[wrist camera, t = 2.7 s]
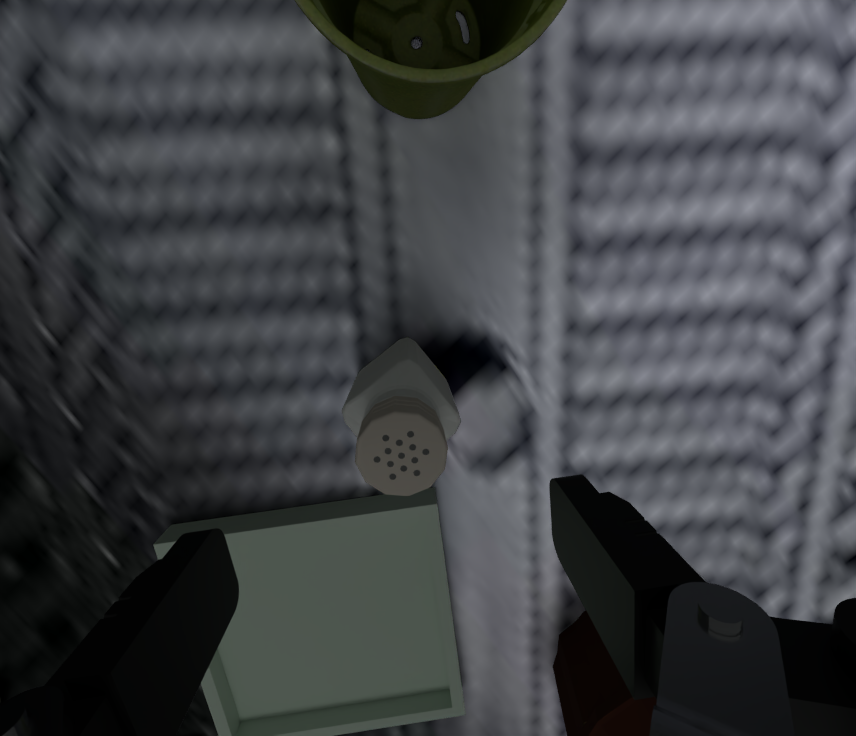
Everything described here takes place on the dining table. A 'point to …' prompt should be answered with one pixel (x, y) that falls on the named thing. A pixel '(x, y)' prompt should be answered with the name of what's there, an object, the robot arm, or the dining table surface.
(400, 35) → the plant pot
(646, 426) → the dining table surface
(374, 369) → the pepper shaker
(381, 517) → the tray
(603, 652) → the muffin
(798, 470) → the dining table surface
